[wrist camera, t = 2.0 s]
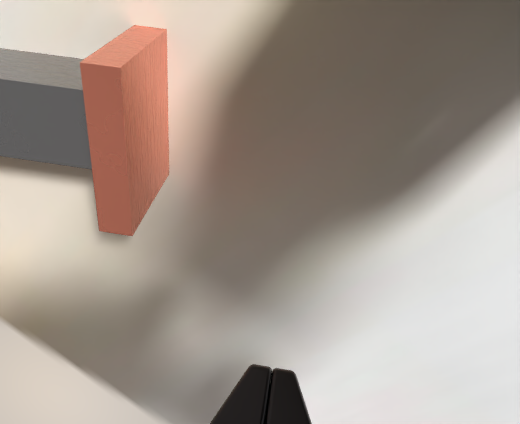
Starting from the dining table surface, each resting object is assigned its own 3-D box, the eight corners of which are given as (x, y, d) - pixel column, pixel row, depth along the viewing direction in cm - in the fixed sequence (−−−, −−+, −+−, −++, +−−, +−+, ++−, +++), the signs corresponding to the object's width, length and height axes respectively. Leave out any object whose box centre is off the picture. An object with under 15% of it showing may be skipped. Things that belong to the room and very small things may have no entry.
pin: (167, 28, 18) (120, 67, 14) (169, 173, 21) (132, 235, 18) (-48, 1, 19) (-149, 32, 15) (-13, 147, 22) (-88, 202, 18)
